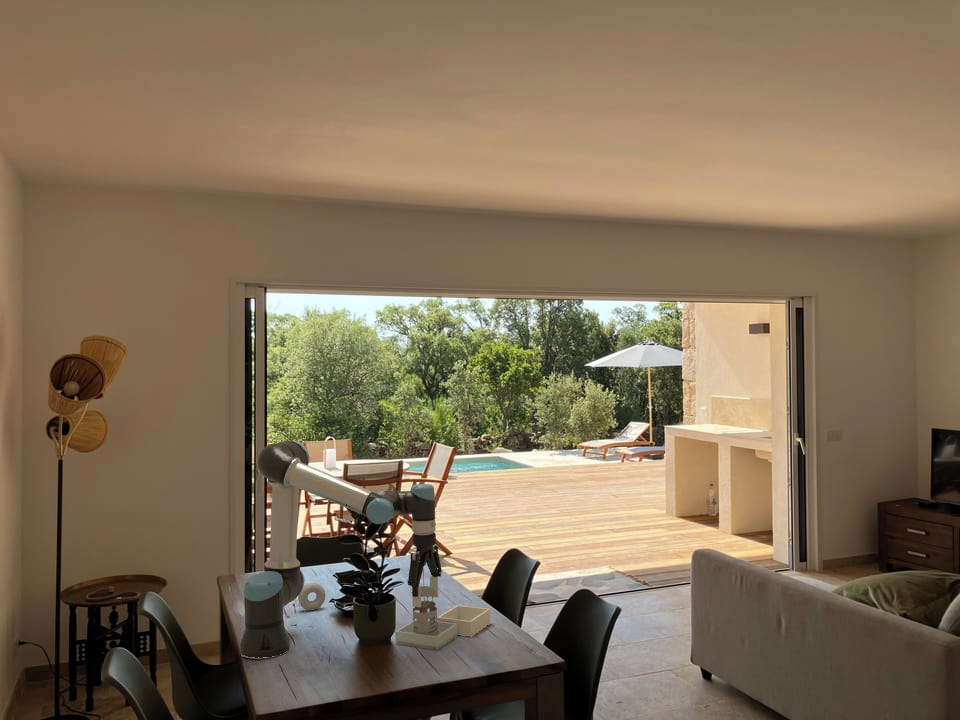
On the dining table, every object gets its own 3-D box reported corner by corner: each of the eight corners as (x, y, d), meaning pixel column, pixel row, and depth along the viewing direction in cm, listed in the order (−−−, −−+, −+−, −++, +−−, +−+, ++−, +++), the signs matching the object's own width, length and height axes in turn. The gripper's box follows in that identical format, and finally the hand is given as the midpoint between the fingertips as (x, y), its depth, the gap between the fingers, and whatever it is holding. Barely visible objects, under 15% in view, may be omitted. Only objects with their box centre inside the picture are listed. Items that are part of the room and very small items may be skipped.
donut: (324, 607, 284) (324, 580, 284) (326, 609, 281) (326, 582, 281) (297, 611, 280) (297, 583, 280) (299, 613, 277) (298, 586, 277)
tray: (437, 650, 235) (437, 637, 235) (395, 643, 242) (395, 631, 242) (457, 636, 248) (457, 623, 248) (417, 630, 254) (417, 618, 254)
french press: (406, 639, 240) (403, 560, 240) (417, 626, 251) (414, 551, 252) (436, 640, 238) (433, 560, 238) (445, 627, 249) (442, 551, 250)
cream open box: (471, 637, 246) (471, 621, 246) (437, 632, 252) (436, 617, 252) (490, 623, 259) (490, 608, 259) (457, 619, 265) (457, 605, 265)
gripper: (415, 540, 234) (417, 613, 233) (451, 526, 254) (452, 593, 254) (395, 539, 237) (396, 610, 236) (431, 525, 258) (433, 591, 257)
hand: (425, 601), depth 245 cm, fingers closed on french press, 10 cm apart
